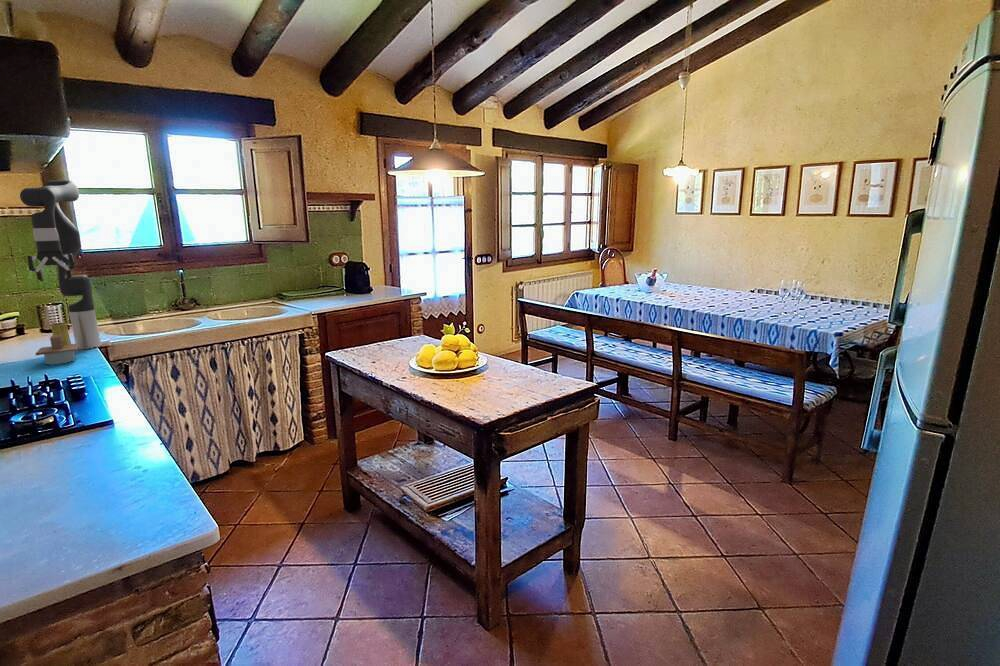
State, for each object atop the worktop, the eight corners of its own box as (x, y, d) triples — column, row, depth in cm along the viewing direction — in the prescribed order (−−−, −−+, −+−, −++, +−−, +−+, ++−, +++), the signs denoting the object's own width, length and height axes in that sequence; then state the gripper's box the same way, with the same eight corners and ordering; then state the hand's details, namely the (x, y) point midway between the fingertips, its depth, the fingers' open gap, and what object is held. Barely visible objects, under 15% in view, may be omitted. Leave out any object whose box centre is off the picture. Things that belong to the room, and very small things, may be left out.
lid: (41, 349, 215) (38, 335, 213) (79, 345, 221) (77, 331, 220) (35, 355, 204) (32, 341, 203) (76, 350, 211) (73, 336, 210)
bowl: (48, 361, 215) (46, 349, 214) (76, 357, 220) (74, 346, 219) (44, 366, 208) (42, 353, 207) (73, 362, 212) (71, 350, 211)
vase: (63, 358, 220) (57, 325, 217) (52, 357, 221) (45, 324, 218) (77, 354, 226) (71, 322, 223) (66, 354, 227) (59, 322, 224)
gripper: (71, 239, 215) (78, 278, 218) (25, 240, 207) (34, 281, 210) (68, 239, 208) (76, 279, 212) (21, 240, 201) (30, 282, 204)
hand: (55, 280), depth 211 cm, fingers open, 8 cm apart
